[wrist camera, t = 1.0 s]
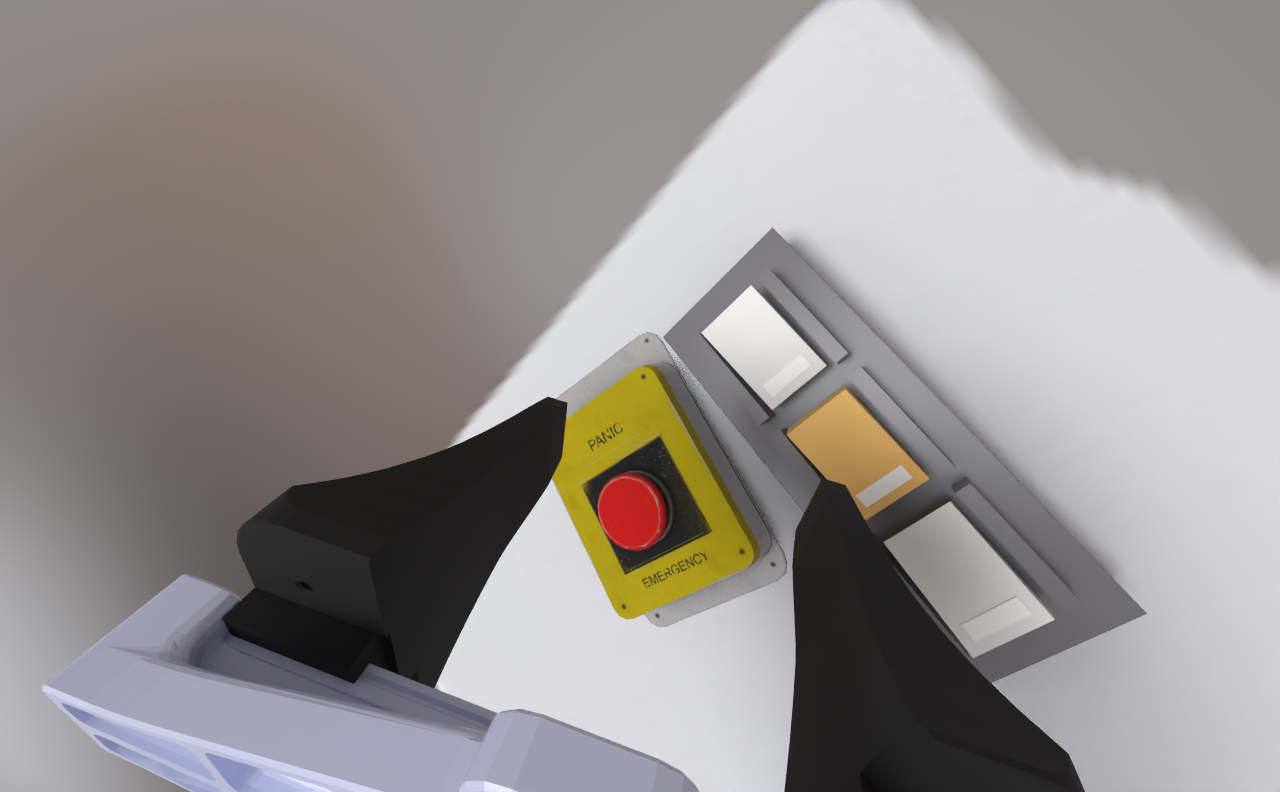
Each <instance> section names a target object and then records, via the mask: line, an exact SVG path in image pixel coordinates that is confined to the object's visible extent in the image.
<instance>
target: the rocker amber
mask: <svg viewBox="0 0 1280 792" xmlns="http://www.w3.org/2000/svg"><path fill="white" fill-rule="evenodd" d="M787 436H788V437H789V438H790V439H791V440H792V441H793V442H794V444H795V445H796V446H797V447H798V448H799V449H800V450H801V451H802V452H803V453H804V454H805V456H806V457H807V458H808V459H809V460H810V461H811V462H812V463H813V464H814V465H815V466H816V468H817V469H818V470H819V471H820V472H821V473H822V474H823V475H824V476H825V477H826V478H827V480H830V481H834V482H837V483H840V484H844V485H846V487H847V489H848V490H849V492H850V494H851V496H852V498H853V499H854V501H855V503H856V505H857V507H858V508H859V510H860V512H861V514H862V516H863V517H864V519H865V520H867V519H868V518H870V517H871V516H873V515H875V514H876V513H878V512H879V511H881V510H882V509H884V508H885V507H887V506H888V505H890V504H892V503H893V502H895V501H896V500H898V499H899V498H901V497H902V496H904V495H906V494H907V493H909V492H910V491H912V490H913V489H915V488H916V487H918V486H919V485H921V484H923V483H924V482H926V481H927V480H929V479H930V478H929V477H928V475H927V473H926V471H925V470H924V469H923V468H922V467H921V466H920V464H919V463H918V462H917V461H916V460H915V459H914V458H913V457H912V456H911V455H910V454H909V453H908V452H907V451H906V450H905V449H904V447H903V446H902V445H901V444H900V443H899V442H898V441H897V440H896V439H895V438H894V437H893V436H892V435H891V434H890V433H889V432H888V431H887V429H886V428H885V427H884V426H883V425H882V424H881V423H880V422H879V421H878V420H877V419H876V418H875V417H874V416H873V415H872V414H871V412H870V411H869V410H868V409H867V408H866V407H865V406H864V405H863V404H862V403H861V402H860V401H859V400H858V399H857V398H856V397H855V395H854V394H853V393H852V392H851V391H850V390H849V389H848V388H847V387H846V386H845V385H843V386H842V387H840V388H839V389H838V390H837V391H835V392H834V393H833V394H832V395H830V396H829V397H828V398H826V399H825V400H824V401H823V402H821V403H820V404H819V405H818V406H816V407H815V408H814V409H812V410H811V411H810V412H809V413H807V414H806V415H805V416H804V417H802V418H801V419H800V420H798V421H797V422H796V423H795V424H793V425H792V426H791V427H790V428H788V431H787Z"/></svg>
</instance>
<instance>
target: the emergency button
mask: <svg viewBox="0 0 1280 792" xmlns="http://www.w3.org/2000/svg"><path fill="white" fill-rule="evenodd" d="M556 399H557V400H561V401H564V402H567V403H568V404H567V414H566V424H565V434H564V444H563V454H562V458H561V460H560V463H559V465H558V467H557V469H556V471H555V473H554V475H553V477H552V480H553V482H554V484H555V486H556V489H557V491H558V493H559V495H560V497H561V499H562V501H563V503H564V505H565V507H566V509H567V512H568V514H569V516H570V518H571V520H572V522H573V524H574V526H575V528H576V530H577V532H578V535H579V537H580V539H581V541H582V543H583V545H584V547H585V549H586V551H587V553H588V555H589V558H590V560H591V562H592V564H593V566H594V568H595V570H596V572H597V574H598V576H599V578H600V581H601V583H602V585H603V587H604V589H605V591H606V593H607V595H608V597H609V599H610V601H611V604H612V606H613V608H614V610H615V611H616V612H617V613H618V615H619V616H621V617H623V618H625V619H633V618H636V617H638V616H640V615H643V614H645V616H646V617H647V618H648V620H649V621H650V622H651V623H653V624H654V625H656V626H658V627H666V626H669V625H671V624H673V623H676V622H678V621H681V620H683V619H686V618H688V617H690V616H693V615H695V614H698V613H700V612H702V611H705V610H707V609H710V608H712V607H715V606H717V605H719V604H722V603H724V602H727V601H729V600H732V599H734V598H736V597H739V596H741V595H744V594H746V593H748V592H751V591H753V590H756V589H758V588H761V587H763V586H765V585H768V584H770V583H773V582H775V581H778V580H779V579H780V578H781V577H782V576H783V575H784V574H785V571H786V565H787V562H786V559H785V556H784V553H783V551H782V549H781V547H780V545H779V544H778V542H777V540H776V539H775V537H774V535H773V533H772V532H771V530H770V528H769V526H768V525H767V523H766V521H765V519H764V518H763V516H762V514H761V512H760V511H759V509H758V507H757V505H756V504H755V502H754V500H753V498H752V497H751V495H750V493H749V491H748V490H747V488H746V486H745V484H744V483H743V481H742V479H741V477H740V476H739V474H738V472H737V471H736V469H735V467H734V465H733V464H732V462H731V460H730V458H729V457H728V455H727V453H726V451H725V450H724V448H723V446H722V444H721V443H720V441H719V439H718V437H717V436H716V434H715V432H714V430H713V429H712V427H711V425H710V423H709V422H708V420H707V418H706V416H705V415H704V413H703V411H702V410H701V408H700V406H699V404H698V403H697V401H696V399H695V397H694V396H693V394H692V392H691V390H690V389H689V387H688V385H687V383H686V382H685V380H684V378H683V376H682V375H681V373H680V371H679V369H678V368H677V366H676V364H675V362H674V361H673V359H672V357H671V355H670V354H669V352H668V350H667V348H666V347H665V345H664V343H663V342H662V341H661V340H660V338H659V337H658V336H657V335H654V334H651V333H644V334H641V335H639V336H638V337H636V338H635V339H634V340H633V341H631V342H630V343H629V344H627V345H626V346H625V347H623V348H622V349H621V350H619V351H618V352H617V353H615V354H614V355H613V356H611V357H610V358H609V359H608V360H606V361H605V362H604V363H602V364H601V365H600V366H598V367H597V368H596V369H594V370H593V371H592V372H590V373H589V374H588V375H586V376H585V377H584V378H583V379H581V380H580V381H579V382H577V383H576V384H575V385H573V386H572V387H571V388H569V389H568V390H567V391H565V392H564V393H563V394H561V395H560V396H559V397H558V398H556Z"/></svg>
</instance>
